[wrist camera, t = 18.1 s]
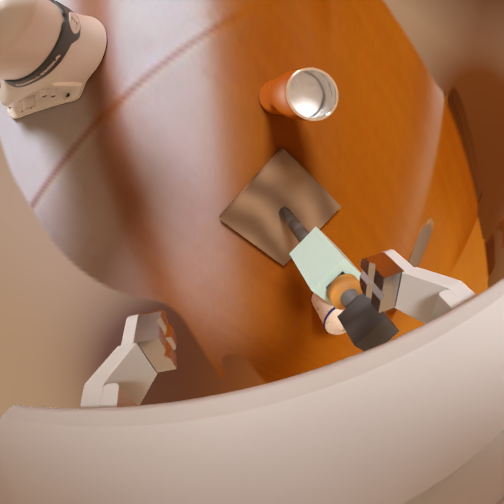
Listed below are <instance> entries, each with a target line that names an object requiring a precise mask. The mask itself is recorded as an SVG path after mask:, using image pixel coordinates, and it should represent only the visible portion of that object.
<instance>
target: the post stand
mask: <svg viewBox="0 0 504 504" xmlns="http://www.w3.org/2000/svg"><path fill="white" fill-rule="evenodd" d="M340 208H341V206H340V205H339V204H338V203H337V202H336V201H335V200H334V199H333V198H332V197H331V195H330V194H329V193H328V192H327V191H326V190H325V189H324V188H323V187H322V186H321V185H320V184H319V183H318V182H317V181H316V180H315V179H314V178H313V177H312V176H311V175H310V174H309V173H308V172H307V171H306V170H305V169H304V168H303V167H302V166H301V165H300V164H299V163H298V162H297V161H296V160H295V159H294V158H293V157H292V156H291V155H290V154H289V153H288V152H287V151H286V150H285V149H283V148H280V149H279V150H278V151H277V153H276V154H275V155H274V156H273V157H272V158H271V159H270V160H269V161H268V162H267V163H266V164H265V165H264V167H263V168H262V169H261V170H260V171H259V172H258V173H257V174H256V175H255V176H254V178H253V179H252V180H251V181H250V182H249V183H248V184H247V185H246V186H245V188H244V189H243V190H242V191H241V192H240V193H239V194H238V195H237V197H236V198H235V199H234V200H233V201H232V202H231V203H230V205H229V206H228V207H227V208H226V209H225V210H224V212H223V213H222V214H221V215H220V216H219V218H220V220H221V221H222V222H224V223H225V224H227V225H228V226H229V227H231V228H232V229H233V230H235V231H236V232H238V233H239V234H240V235H242V236H243V237H244V238H246V239H247V240H248V241H250V242H251V243H253V244H254V245H255V246H257V247H258V248H259V249H261V250H262V251H264V252H265V253H266V254H268V255H269V256H270V257H272V258H273V259H274V260H276V261H277V262H279V263H280V264H281V265H283V266H285V265H286V264H287V263H288V262H289V261H290V260H291V259H292V258H291V256H290V254H289V253H290V252H291V251H292V250H293V249H294V248H295V247H296V246H297V245H298V244H299V243H300V242H301V241H302V240H303V239H304V238H305V237H306V236H307V235H308V234H309V233H310V232H311V231H312V230H313V229H314V228H315V227H317V228H318V229H319V230H320V229H321V228H322V227H323V226H324V224H325V223H326V222H327V221H328V220H329V219H330V218H331V217H332V216H333V215H334V214H335V213H336V212H337V211H338V210H339V209H340ZM327 296H328V298H329V299H330V301H331V303H332V304H333V306H334V307H335V308H336V309H339V310H344V311H342V312H341V313H340V314H339V315H338V316H337V317H338V319H339V321H340V322H341V324H342V326H343V327H344V329H345V330H346V332H347V334H348V335H349V337H350V339H351V340H352V342H353V344H354V345H355V346H356V347H358V348H360V349H361V350H363V351H367V350H369V349H372V348H374V347H376V346H379V345H381V344H384V343H386V342H388V341H389V340H390V339H391V338H392V337H393V336H394V335H395V334H396V333H398V332H399V330H398V329H397V328H396V326H395V325H394V324H393V322H392V321H391V320H390V318H389V317H388V316H387V315H386V313H385V312H384V311H383V312H380V313H378V312H377V310H376V309H375V308H374V306H373V305H372V304H371V298H368V297H366V296H365V295H364V294H363V292H362V290H361V287H360V283H359V280H358V279H357V278H356V277H355V276H354V275H353V274H343V273H342V272H341V273H340V274H339V275H338V276H337V277H336V278H335V279H334V280H333V281H332V282H331V283H330V284H329V287H328V290H327Z"/></svg>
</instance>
